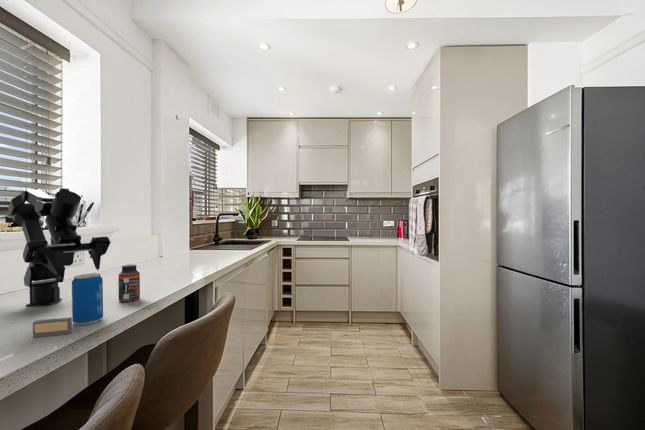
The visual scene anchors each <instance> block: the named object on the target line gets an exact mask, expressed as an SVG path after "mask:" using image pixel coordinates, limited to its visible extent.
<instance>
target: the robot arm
mask: <svg viewBox="0 0 645 430" xmlns="http://www.w3.org/2000/svg"><path fill="white" fill-rule="evenodd" d="M81 201H82V198H81V196H80V195H79V194H77V193H76V192H74V191H72V190H70V189H69V188H59V191H57V192H56V193H55V195H54V196H52V195H49V194H47V193H45V192H44V191H43V190H41V189H22V190H21V192H20V194H18V195H17V196H15V197H13V198H12V199H10V202H9V204H8V208H7V209H8V211H7V212H8V215H9V216H10V217H11V219H12V221H13V223H14V224H17V225H19V226H20V227H21V229H22V231H23V234H24V237H25V242H26V244H25V247H24V249H23V251H22V252H23V253H22V257H23V261H24V263H26V264H28V267H27V268H26V271H25V274H24V277H23V284H24V286H26V287H28V288H29V303H26V304H25V307H39V306H44V307H45V306H50V305H53V304H56V303H58V302H61V301H62V300H63V298H61V294H60V293H61V292H60V291H61V287H59V283H63V282H64V280H65V273H66V267H69V266H72V265H73V264H74V259H75V253H78V252H88V255H89V258H90V259H92V262H93V266H94V268H95V269H96V270H97V271H99V270H100V267H101V259H102V258H101V257H102V256H104V255H106V254H107V251H108V249H109V247H110V245H111V244H112V243H111V242H112V241H111V240H110V238H109V237H108V236H92V237H91V240H90V242H81V241H82V236H81V234H80V235H79V234H78V232H77V228H78V227H77V225H76V224H74V223H73V221H72V218H74V217H75V216H76V215H77V212H78V208H79V206H80V203H81ZM42 217H45V219H44V220H45V224H46V225H45V228H46V230H48V232H49V235H50V244H49V243H48V240H47V239H46V236H45V233H44V230H43V227H42V225H41V219H42Z"/></svg>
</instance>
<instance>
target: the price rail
mask: <svg viewBox="0 0 645 430" xmlns="http://www.w3.org/2000/svg"><path fill="white" fill-rule="evenodd" d="M72 325H73V321H72V317H61V318H50V319H48V318H47V319H36V320H34V321H33V322H32V337H33V338H41V337H43V338H44V337H52V336H61V335H70V334H71V333H72V332H73V326H72Z"/></svg>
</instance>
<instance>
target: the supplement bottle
mask: <svg viewBox="0 0 645 430" xmlns="http://www.w3.org/2000/svg"><path fill="white" fill-rule="evenodd" d="M140 274H141V273H140V272H139V271H138V270H137V265H136V264H123V265H122V266H121V272H119V273H118V281H117V282H118V283H117V285H118V301H119V302H120V303H132V302H136V301H138V300H140V299H141V298H140V297H141V277H140V276H141V275H140Z"/></svg>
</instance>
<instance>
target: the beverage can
mask: <svg viewBox="0 0 645 430" xmlns="http://www.w3.org/2000/svg"><path fill="white" fill-rule="evenodd" d="M103 281H104V280H103V277H102V275H101V273H85V274H79V275H75V276H73V279H72V281H71V308H72V309H71V315H72V323H73V324H76V325H77V326H85V325H92V324H95V323H98V322H99V321H101V319H103V318H104V290H103V289H104V286H103V285H104V282H103Z"/></svg>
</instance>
